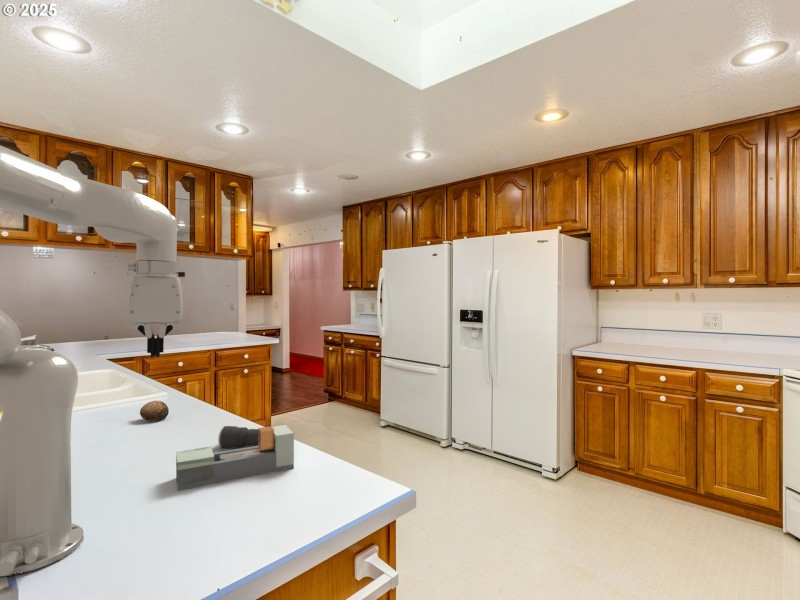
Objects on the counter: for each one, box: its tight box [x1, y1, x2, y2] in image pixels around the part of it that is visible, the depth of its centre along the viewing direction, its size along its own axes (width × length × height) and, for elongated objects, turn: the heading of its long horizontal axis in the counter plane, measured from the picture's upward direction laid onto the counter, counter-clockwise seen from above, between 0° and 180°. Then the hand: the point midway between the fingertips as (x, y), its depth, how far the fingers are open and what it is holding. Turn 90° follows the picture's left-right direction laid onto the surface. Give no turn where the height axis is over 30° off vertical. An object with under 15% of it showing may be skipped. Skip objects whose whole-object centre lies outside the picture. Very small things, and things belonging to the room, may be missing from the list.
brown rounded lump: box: [139, 400, 170, 423], centre depth 137 cm, size 8×8×6 cm
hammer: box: [219, 425, 275, 461], centre depth 99 cm, size 14×3×8 cm, turn 119°
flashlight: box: [218, 425, 258, 449], centre depth 114 cm, size 15×5×5 cm, turn 89°
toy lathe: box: [175, 424, 295, 492], centre depth 98 cm, size 24×7×8 cm, turn 119°
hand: (155, 356), depth 93 cm, fingers closed
